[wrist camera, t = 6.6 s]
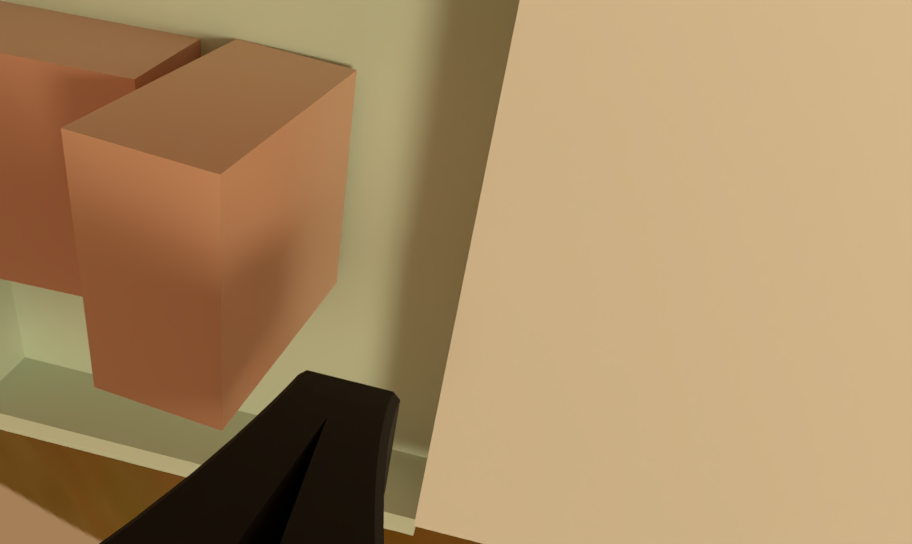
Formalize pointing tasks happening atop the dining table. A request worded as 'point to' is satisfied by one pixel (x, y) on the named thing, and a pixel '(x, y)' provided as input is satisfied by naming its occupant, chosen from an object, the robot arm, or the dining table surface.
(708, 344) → the board
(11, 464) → the dining table surface
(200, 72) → the tile
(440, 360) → the box
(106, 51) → the tile
